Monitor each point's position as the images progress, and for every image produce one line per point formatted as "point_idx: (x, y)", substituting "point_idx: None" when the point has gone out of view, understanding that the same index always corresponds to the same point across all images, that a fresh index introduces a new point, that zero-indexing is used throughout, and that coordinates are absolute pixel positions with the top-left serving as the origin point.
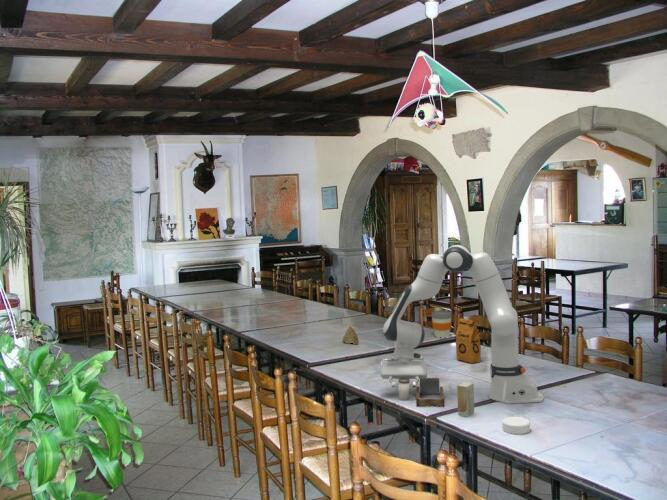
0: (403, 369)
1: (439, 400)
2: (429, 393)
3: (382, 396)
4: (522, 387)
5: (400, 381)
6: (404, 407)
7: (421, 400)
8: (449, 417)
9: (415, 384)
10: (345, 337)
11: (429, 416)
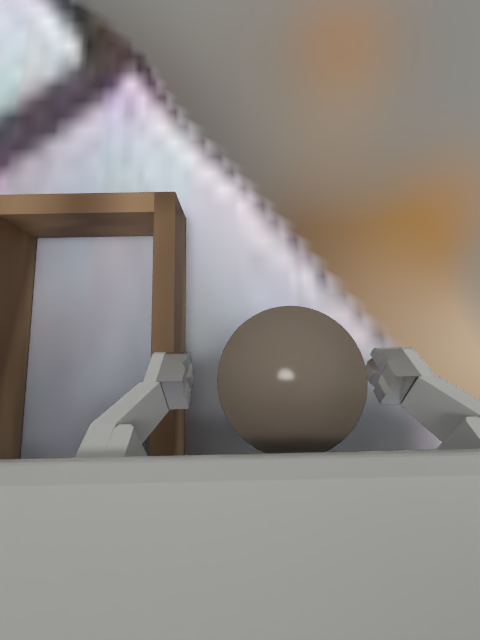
0: (356, 611)
1: (16, 199)
2: None
3: None
4: None
5: (330, 319)
6: (256, 199)
7: (141, 197)
8: (15, 56)
9: (159, 359)
10: None
11: (117, 66)
